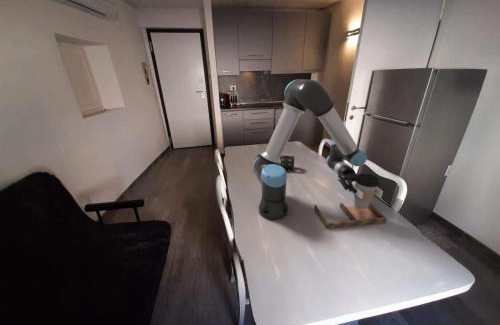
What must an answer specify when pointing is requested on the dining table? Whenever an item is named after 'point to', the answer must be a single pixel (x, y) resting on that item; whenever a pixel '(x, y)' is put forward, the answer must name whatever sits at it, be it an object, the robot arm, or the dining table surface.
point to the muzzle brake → (283, 161)
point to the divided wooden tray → (354, 217)
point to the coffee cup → (365, 189)
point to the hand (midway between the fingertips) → (371, 195)
